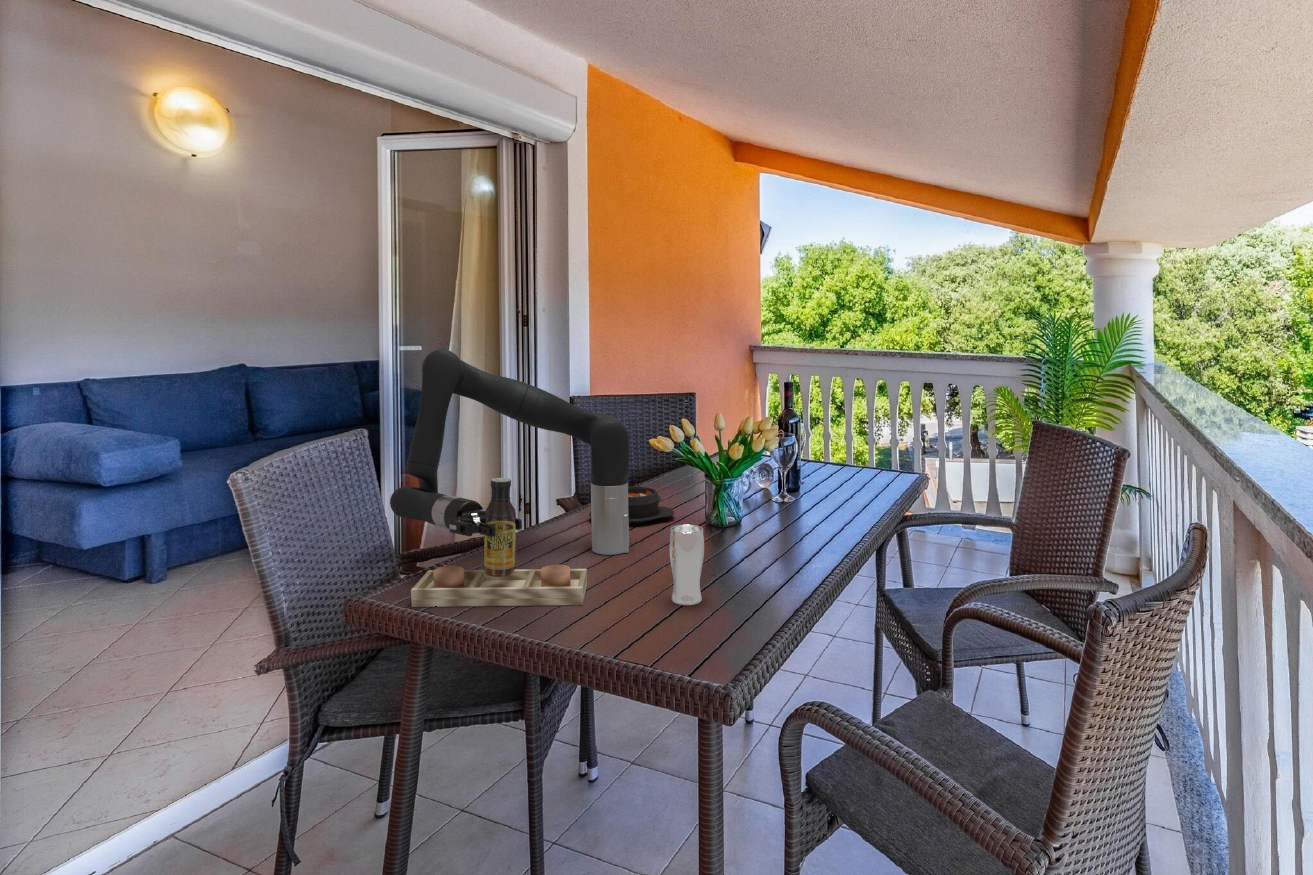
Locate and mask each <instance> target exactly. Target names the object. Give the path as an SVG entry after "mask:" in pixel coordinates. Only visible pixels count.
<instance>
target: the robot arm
mask: <svg viewBox="0 0 1313 875" xmlns="http://www.w3.org/2000/svg"><path fill="white" fill-rule="evenodd" d="M453 394H454V395H457V396H461V397H465V398H468V399H470V400H473V401H475V402H478V403H479V404H480V403H481V404H482V405H484V406H485V407H488V408H490V409H491V410H494V411H496V412H497V413H499V414H502V415H503V416H505V417H508V418H510V419H512V420H515V421H517V422H520V423H522V424H526V425H528V426H531V427H532V428H533V427H534V428H537V429H541V430H545V431H549V432H556V433H559V434H564V435H565V434H566V435H567V436H570V437H572V438H575V439H577V440H579V441H581V442H583V443H585V444H587V445H588V446H590V458H591V460H590V462H591V463H590V464H591V465H590V506H591V508H590V509H591V510H590V512H591V517H590V518H591V551H592V552H593V553H595V554H598V555H603V556H604V555H606V556H607V555H608V556H609V555H610V556H612V555H619V554H625V553H626V554H628V553H629V552H630V551H629V550H630V529H629V527H630V524H629V510H628V487H629V473H630V436H629V435H630V434H629V432H628V429H627V427H626V426H625V425H624V424H623V423H622V422H621V421H620V420H619V419H617V418H615V417H612V416H608V415H604V414H601V413H596V412H593V411H590V410H586V409H584V408H581V407H579V406H577V405H574V404H572V403H570V402H569V401H566V400H565V399H563V398H561V397H559V396H557V395H555V394H553V393H551V392H548V391H547V390H545V389H542V388H539V387H537V386H535V385H532V384H530V383H527V382H523V381H521V380H518V379H514V378H509V377H506V376H500V375H498V374H497V375H496V374H492V373H489V372H486V371H484V370H481V369H479V368H478V367H475V366H473V365H471V364H469V363H467V362H465V361H463V360H462V359H460V358H459V356H458V355H457V354H456V353H454V352H453V351H451V350H448V349H443V348H442V349H441V348H440V349H435V350H433V351H431V352H430V353H429V354H427V355H426V357H425V358H424V360H423V361H422V364H421V393H420V403H419V409H418V413H417V414H418V415H417V419H416V423H415V427H414V431H413V434H412V438H411V443H410V447H409V451H408V456H407V461H406V466H405V471H406V473H407V475H409V476H410V477H413V478H416V479H417V481H418V486H419V487H413V486H400V487H398V488H396V490H394V491H393V493H391V496H390V499H389V505H390V508H391V511H392V512H393V513H394V514H395V515H396V516H397V517H399V518H404V519H409V520H415V521H420V522H421V521H422V522H425V523H426V522H427V523H428V524H430V525H434V526H438V527H440V528H441V529H444V530H446V531H449V533H451V534H452V533H453V534H456V535H459V536H460V535H461V536H466V537H471V536H473V535H475V536H480V535H483V536H485V535H486V536H489V537H494V536H495V526H493V525H489V524H486V523H485V519H486V518H485V517H486V514H485V512H486V508H485V509H484V508H483V506H482V505H481V504H480V503H479V502H478V501H476V500H473V499H469V498H465V497H460V496H456V495H447V494H443V493H440V492H439V486H438V484H439V483H438V481H439V480H438V469H439V465H440V461H441V456H442V451H443V445H444V440H445V432H446V430H445V428H446V421H447V416H448V411H449V406H450V403H451V399H452V397H453ZM522 523H523V521H522V519H521V518H517V512H515V524H516V531H519V530H522V528H523V525H522Z"/></svg>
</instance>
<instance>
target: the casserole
mask: <svg viewBox="0 0 1313 875" xmlns="http://www.w3.org/2000/svg"><path fill="white" fill-rule="evenodd" d="M661 499H662V498H661V497H660V496H659V493H658V491H657V490H656V489H654V488H650V487H645V486H628V510H629V525H637V524H638V525H639V524H643V523H644V524H645V523H648V522H651V521H653V520H657V519H662V518H663V519H664V518H670V517H672V516H673V515H674V514H675V511H674V509H672V508H670V507H667V506H662V505H661V506H660V505H659V503H660V501H661ZM588 516H589V517H590V518H591V511H590V512H589V513H588Z"/></svg>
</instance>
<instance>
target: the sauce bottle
mask: <svg viewBox="0 0 1313 875" xmlns="http://www.w3.org/2000/svg"><path fill="white" fill-rule="evenodd" d="M490 487H491V497H490V502H489V504H488V505H487V507H486V508H485V510H486V512H485V514H486V517H485V518H486V519H485V523H486V524H489V525H493V526H495V536H494V537H489V536H486V535H484V542H483V543H484V547H483V548H484V549H483V550H484V553H483V554H484V555H483V566H484V570H485V573H486V574H487V575H489V576H494V577H502V576H508V575H511V574H512V573H513V571H514V570H515V565H516V531H517V530H516V524H515V513H516V509H515V507H514V505H513V503H512V502H511V487H512V480H511V479H510V478H507V477H494V478H492V479H490Z"/></svg>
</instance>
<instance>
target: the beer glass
mask: <svg viewBox="0 0 1313 875" xmlns="http://www.w3.org/2000/svg"><path fill="white" fill-rule="evenodd" d="M669 533H670V534H669V560H670V566H671V572H672V578H673V588H672V589H673V590H672V594H671V602H673V603H674V604H676V605H679V606H695V605H698V604H700V603H701V602H702V600H703V599H702V594H701V584H700V583H701V577H702V576H701V574H702V570H703V569H702V568H703V564H704V557H705V538H704V528H703V527H702V526H700V525H696V524H677V525H674V526H672V527H670V532H669Z"/></svg>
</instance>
